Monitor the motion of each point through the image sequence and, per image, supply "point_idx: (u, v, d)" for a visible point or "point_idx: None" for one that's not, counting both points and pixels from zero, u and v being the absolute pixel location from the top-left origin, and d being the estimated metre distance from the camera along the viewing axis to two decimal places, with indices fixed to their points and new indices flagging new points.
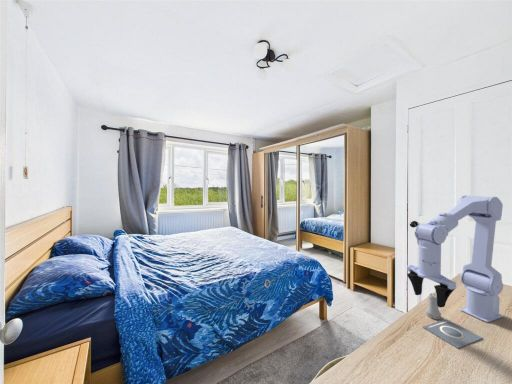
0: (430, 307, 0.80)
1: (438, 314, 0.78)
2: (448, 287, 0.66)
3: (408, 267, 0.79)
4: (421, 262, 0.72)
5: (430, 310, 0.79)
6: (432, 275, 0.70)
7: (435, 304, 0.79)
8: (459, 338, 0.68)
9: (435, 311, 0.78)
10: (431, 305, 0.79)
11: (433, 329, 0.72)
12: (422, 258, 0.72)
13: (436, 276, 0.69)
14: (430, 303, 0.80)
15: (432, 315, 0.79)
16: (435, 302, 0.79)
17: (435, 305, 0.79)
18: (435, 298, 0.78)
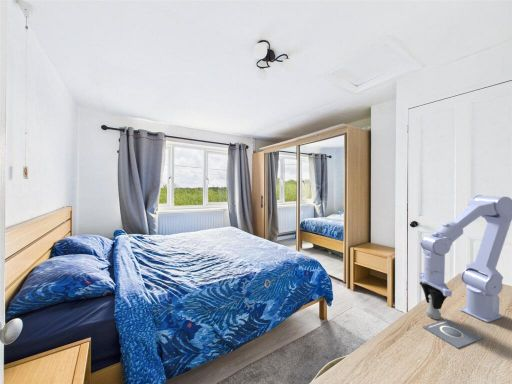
0: (430, 307, 0.80)
1: (438, 314, 0.78)
2: (443, 294, 0.73)
3: (419, 274, 0.86)
4: (424, 269, 0.80)
5: (430, 310, 0.79)
6: (432, 282, 0.77)
7: None
8: (459, 338, 0.68)
9: (435, 311, 0.78)
10: (431, 305, 0.79)
11: (433, 329, 0.72)
12: (426, 266, 0.79)
13: (436, 283, 0.77)
14: (430, 303, 0.80)
15: (432, 315, 0.79)
16: None
17: None
18: None
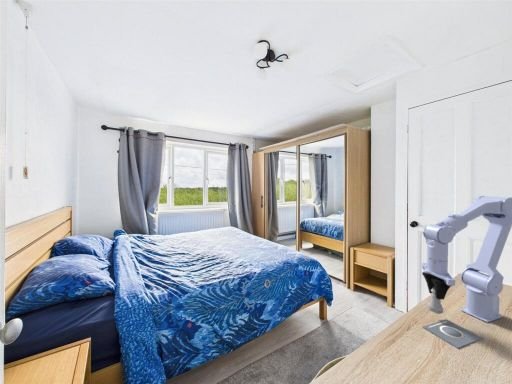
0: (432, 301, 0.78)
1: (440, 308, 0.77)
2: (446, 283, 0.72)
3: (422, 264, 0.85)
4: (427, 259, 0.79)
5: (432, 304, 0.78)
6: (435, 272, 0.76)
7: None
8: (459, 338, 0.68)
9: (437, 305, 0.77)
10: (433, 299, 0.78)
11: (433, 329, 0.72)
12: (429, 256, 0.77)
13: (440, 273, 0.75)
14: (432, 297, 0.78)
15: (433, 309, 0.77)
16: None
17: (437, 299, 0.77)
18: None
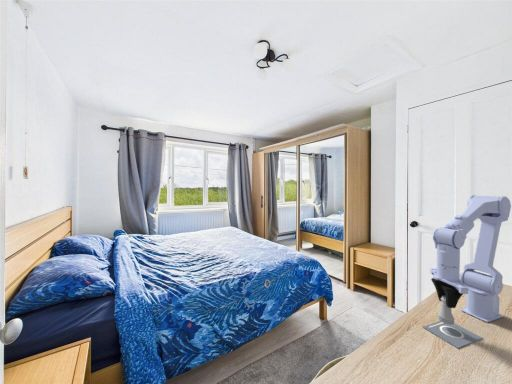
0: (442, 310, 0.73)
1: (451, 318, 0.71)
2: (459, 291, 0.66)
3: (431, 270, 0.79)
4: (437, 265, 0.73)
5: (442, 314, 0.73)
6: (446, 278, 0.71)
7: None
8: (459, 338, 0.68)
9: (448, 315, 0.72)
10: (443, 308, 0.73)
11: (433, 329, 0.72)
12: (441, 262, 0.72)
13: (451, 280, 0.70)
14: (442, 306, 0.73)
15: (444, 319, 0.72)
16: None
17: (448, 309, 0.72)
18: None
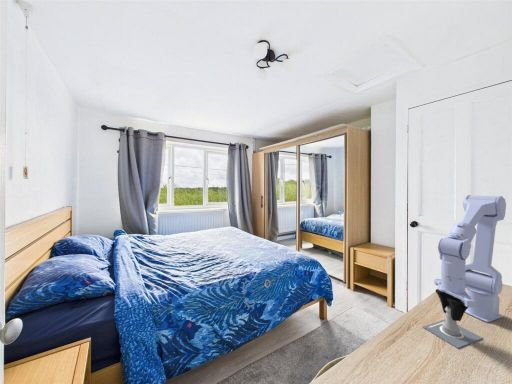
0: (446, 321, 0.71)
1: (456, 330, 0.69)
2: (465, 304, 0.64)
3: (435, 280, 0.77)
4: (442, 276, 0.71)
5: (446, 324, 0.71)
6: (452, 290, 0.68)
7: None
8: (459, 338, 0.68)
9: (452, 326, 0.70)
10: (448, 319, 0.71)
11: (433, 329, 0.72)
12: (447, 274, 0.69)
13: (456, 292, 0.68)
14: (447, 317, 0.71)
15: (449, 330, 0.70)
16: None
17: None
18: None
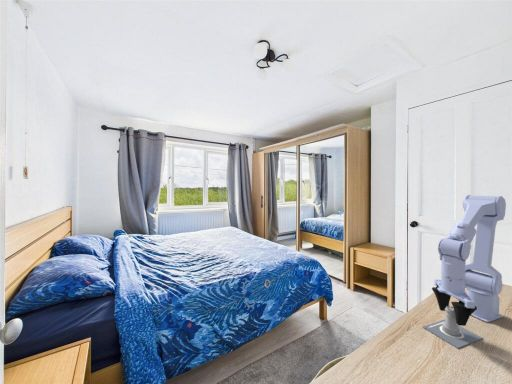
0: (446, 321, 0.71)
1: (456, 330, 0.69)
2: (465, 305, 0.64)
3: (435, 281, 0.77)
4: (442, 277, 0.71)
5: (446, 324, 0.71)
6: (452, 291, 0.68)
7: (452, 318, 0.70)
8: (459, 338, 0.68)
9: (452, 326, 0.70)
10: (448, 319, 0.71)
11: (433, 329, 0.72)
12: (447, 275, 0.69)
13: (456, 293, 0.68)
14: (447, 317, 0.71)
15: (449, 330, 0.70)
16: (452, 316, 0.70)
17: (452, 319, 0.70)
18: (452, 312, 0.70)
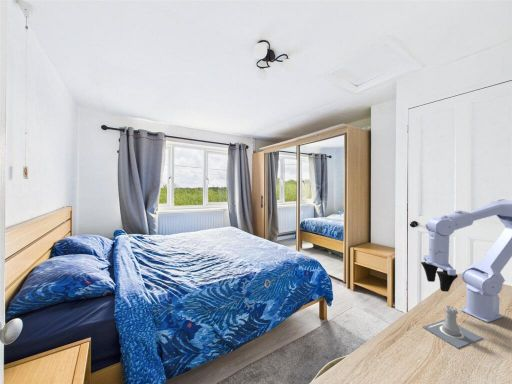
0: (446, 321, 0.71)
1: (456, 330, 0.69)
2: (447, 273, 0.75)
3: (424, 256, 0.88)
4: (429, 251, 0.82)
5: (446, 324, 0.71)
6: (437, 262, 0.79)
7: (452, 318, 0.70)
8: (459, 338, 0.68)
9: (452, 326, 0.70)
10: (448, 319, 0.71)
11: (433, 329, 0.72)
12: (430, 247, 0.82)
13: (441, 264, 0.79)
14: (447, 317, 0.71)
15: (449, 330, 0.70)
16: (452, 316, 0.70)
17: (452, 319, 0.70)
18: (452, 312, 0.70)
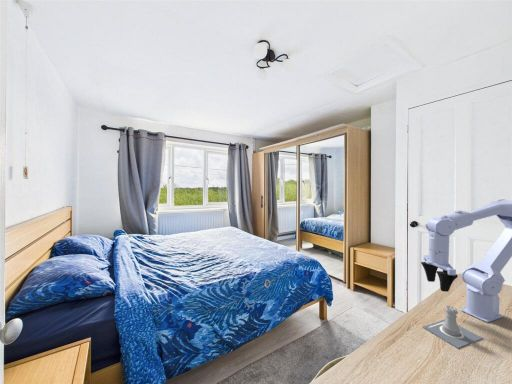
0: (446, 321, 0.71)
1: (456, 330, 0.69)
2: (447, 273, 0.75)
3: (424, 256, 0.88)
4: (429, 251, 0.82)
5: (446, 324, 0.71)
6: (437, 262, 0.79)
7: (452, 318, 0.70)
8: (459, 338, 0.68)
9: (452, 326, 0.70)
10: (448, 319, 0.71)
11: (433, 329, 0.72)
12: (430, 247, 0.82)
13: (441, 264, 0.79)
14: (447, 317, 0.71)
15: (449, 330, 0.70)
16: (452, 316, 0.70)
17: (452, 319, 0.70)
18: (452, 311, 0.70)
